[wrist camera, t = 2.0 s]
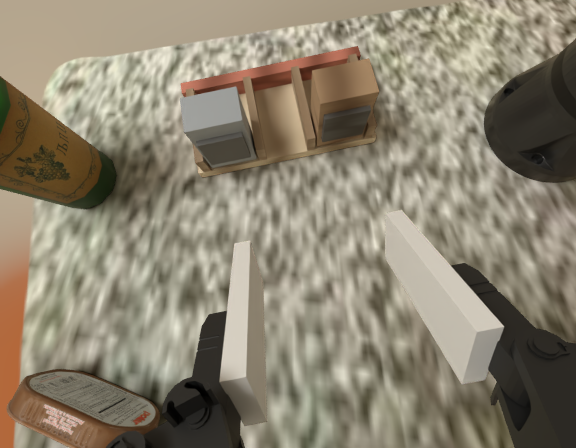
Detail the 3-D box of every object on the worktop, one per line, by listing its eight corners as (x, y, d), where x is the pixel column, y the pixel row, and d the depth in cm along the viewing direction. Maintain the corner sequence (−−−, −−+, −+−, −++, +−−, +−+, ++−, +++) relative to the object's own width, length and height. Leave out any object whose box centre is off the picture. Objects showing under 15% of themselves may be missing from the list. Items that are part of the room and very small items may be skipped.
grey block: (251, 131, 38) (236, 86, 30) (257, 163, 37) (243, 125, 29) (208, 140, 39) (179, 98, 30) (213, 172, 38) (184, 137, 29)
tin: (55, 383, 35) (-22, 414, 27) (67, 357, 35) (-4, 379, 27) (165, 432, 33) (119, 480, 25) (176, 403, 34) (134, 442, 25)
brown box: (354, 110, 38) (369, 58, 29) (362, 141, 37) (380, 96, 28) (310, 119, 38) (311, 70, 30) (317, 150, 37) (321, 109, 29)
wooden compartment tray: (352, 68, 42) (358, 42, 37) (374, 142, 39) (382, 124, 35) (192, 102, 42) (179, 80, 38) (202, 177, 39) (189, 164, 35)
